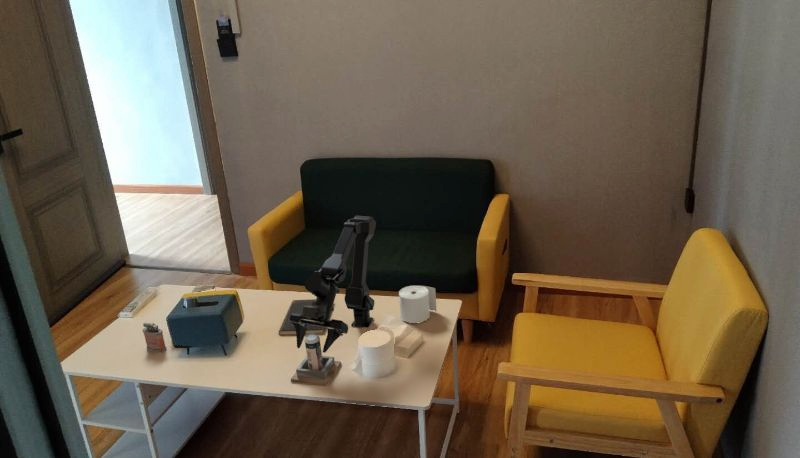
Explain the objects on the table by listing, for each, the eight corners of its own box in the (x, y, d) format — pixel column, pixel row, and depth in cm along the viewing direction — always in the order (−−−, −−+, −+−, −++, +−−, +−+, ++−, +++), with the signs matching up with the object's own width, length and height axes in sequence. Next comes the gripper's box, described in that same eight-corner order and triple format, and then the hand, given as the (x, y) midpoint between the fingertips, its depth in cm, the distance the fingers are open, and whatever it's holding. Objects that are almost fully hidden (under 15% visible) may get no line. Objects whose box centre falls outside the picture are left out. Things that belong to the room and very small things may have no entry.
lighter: (169, 348, 215) (163, 323, 212) (161, 353, 213) (155, 327, 209) (151, 344, 219) (145, 319, 215) (144, 349, 216) (138, 324, 212)
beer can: (324, 372, 193) (320, 339, 189) (309, 375, 192) (304, 342, 188) (323, 364, 197) (318, 331, 193) (308, 366, 197) (303, 334, 192)
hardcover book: (333, 303, 239) (332, 298, 239) (323, 334, 218) (322, 329, 217) (292, 305, 241) (291, 300, 240) (278, 336, 219) (278, 330, 218)
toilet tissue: (394, 318, 224) (392, 294, 221) (415, 305, 232) (413, 281, 229) (417, 327, 217) (415, 301, 214) (438, 313, 226) (436, 288, 222)
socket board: (306, 360, 202) (305, 351, 201) (341, 364, 199) (340, 354, 197) (290, 381, 191) (289, 372, 190) (326, 386, 188) (325, 376, 187)
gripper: (287, 290, 193) (272, 338, 187) (340, 297, 186) (326, 348, 180) (303, 301, 202) (289, 347, 197) (354, 308, 195) (341, 357, 190)
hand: (310, 350), depth 191 cm, fingers open, 9 cm apart
